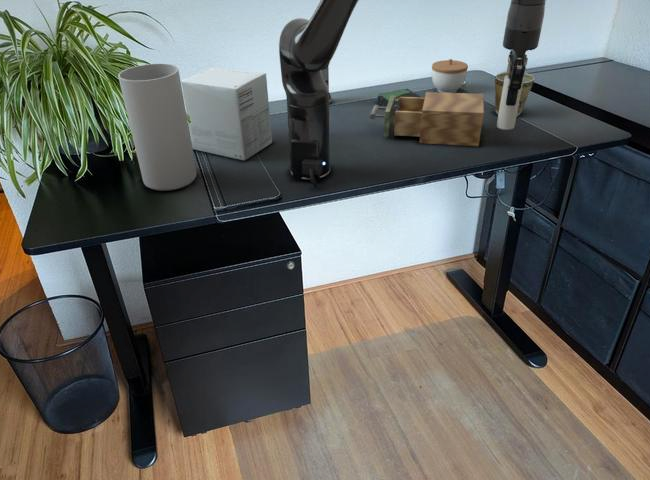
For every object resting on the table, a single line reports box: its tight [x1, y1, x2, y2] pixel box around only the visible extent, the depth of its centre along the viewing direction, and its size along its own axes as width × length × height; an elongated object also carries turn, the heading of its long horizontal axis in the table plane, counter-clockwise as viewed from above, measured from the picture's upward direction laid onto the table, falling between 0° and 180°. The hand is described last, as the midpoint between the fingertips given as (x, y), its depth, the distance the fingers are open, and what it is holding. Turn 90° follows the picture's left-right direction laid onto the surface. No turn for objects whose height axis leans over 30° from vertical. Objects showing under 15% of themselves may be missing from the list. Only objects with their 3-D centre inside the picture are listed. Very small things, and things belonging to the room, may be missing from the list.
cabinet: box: [418, 91, 485, 147], centre depth 141 cm, size 15×14×9 cm
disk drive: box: [377, 88, 423, 115], centre depth 160 cm, size 10×3×15 cm
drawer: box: [369, 95, 425, 138], centre depth 144 cm, size 18×13×7 cm
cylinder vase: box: [117, 63, 197, 192], centre depth 122 cm, size 12×12×25 cm
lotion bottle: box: [495, 74, 524, 131], centre depth 130 cm, size 4×4×14 cm
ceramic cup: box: [494, 71, 535, 118], centre depth 151 cm, size 13×10×10 cm
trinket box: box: [431, 58, 469, 93], centre depth 169 cm, size 11×11×9 cm
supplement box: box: [180, 67, 273, 161], centre depth 138 cm, size 17×13×18 cm
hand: (509, 101), depth 130 cm, fingers closed on lotion bottle, 4 cm apart
